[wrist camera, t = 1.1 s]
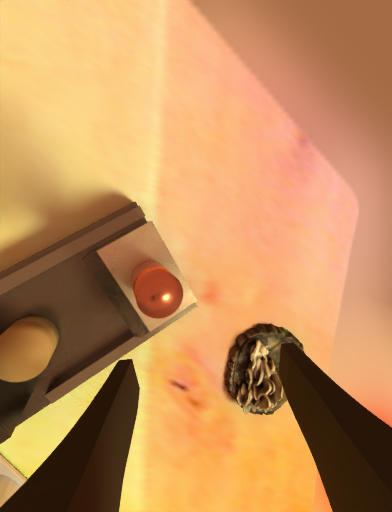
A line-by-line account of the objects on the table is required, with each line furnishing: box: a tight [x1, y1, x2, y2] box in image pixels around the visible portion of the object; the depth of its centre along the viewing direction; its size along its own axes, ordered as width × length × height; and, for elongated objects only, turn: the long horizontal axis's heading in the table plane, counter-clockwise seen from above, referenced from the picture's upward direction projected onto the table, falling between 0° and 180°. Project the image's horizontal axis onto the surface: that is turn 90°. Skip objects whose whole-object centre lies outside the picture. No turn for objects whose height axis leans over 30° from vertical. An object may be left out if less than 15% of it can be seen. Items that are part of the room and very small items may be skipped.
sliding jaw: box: [82, 221, 197, 340], centre depth 19 cm, size 6×8×8 cm
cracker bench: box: [0, 202, 197, 444], centre depth 20 cm, size 20×12×6 cm, turn 119°
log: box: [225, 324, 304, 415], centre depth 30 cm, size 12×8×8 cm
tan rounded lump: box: [0, 316, 59, 382], centre depth 19 cm, size 4×4×3 cm
